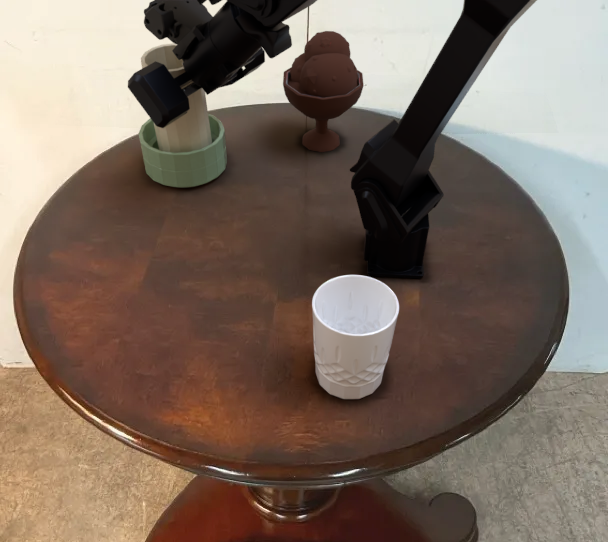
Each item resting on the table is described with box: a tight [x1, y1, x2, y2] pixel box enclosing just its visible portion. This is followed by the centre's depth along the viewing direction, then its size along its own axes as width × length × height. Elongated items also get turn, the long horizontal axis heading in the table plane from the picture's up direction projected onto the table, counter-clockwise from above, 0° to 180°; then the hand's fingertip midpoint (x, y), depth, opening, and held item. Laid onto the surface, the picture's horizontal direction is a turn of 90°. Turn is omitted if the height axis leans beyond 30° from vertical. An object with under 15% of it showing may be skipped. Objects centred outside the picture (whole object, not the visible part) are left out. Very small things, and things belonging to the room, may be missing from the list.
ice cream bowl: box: [282, 30, 364, 153], centre depth 94 cm, size 11×11×15 cm
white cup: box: [311, 274, 400, 400], centre depth 66 cm, size 8×8×10 cm
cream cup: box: [140, 42, 212, 153], centre depth 88 cm, size 7×7×13 cm
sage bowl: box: [138, 113, 228, 188], centre depth 92 cm, size 11×11×6 cm
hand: (170, 102), depth 88 cm, fingers closed on cream cup, 7 cm apart
